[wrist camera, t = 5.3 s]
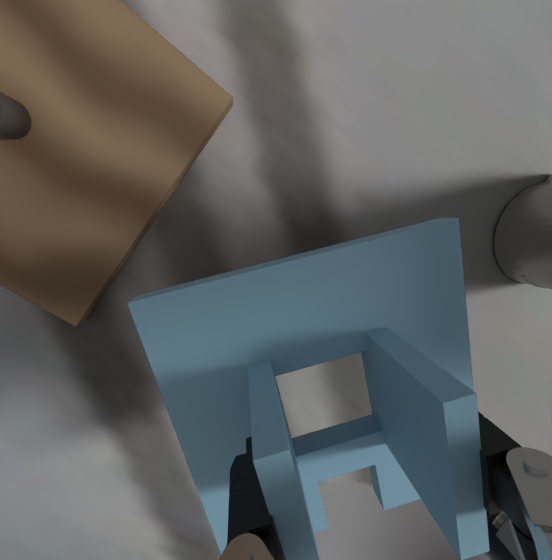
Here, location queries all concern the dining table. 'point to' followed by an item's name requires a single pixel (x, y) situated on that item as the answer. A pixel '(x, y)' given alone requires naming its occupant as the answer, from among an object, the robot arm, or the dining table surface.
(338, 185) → the dining table surface
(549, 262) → the robot arm
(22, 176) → the post board
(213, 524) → the flange plate
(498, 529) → the supplement container
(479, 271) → the dining table surface
